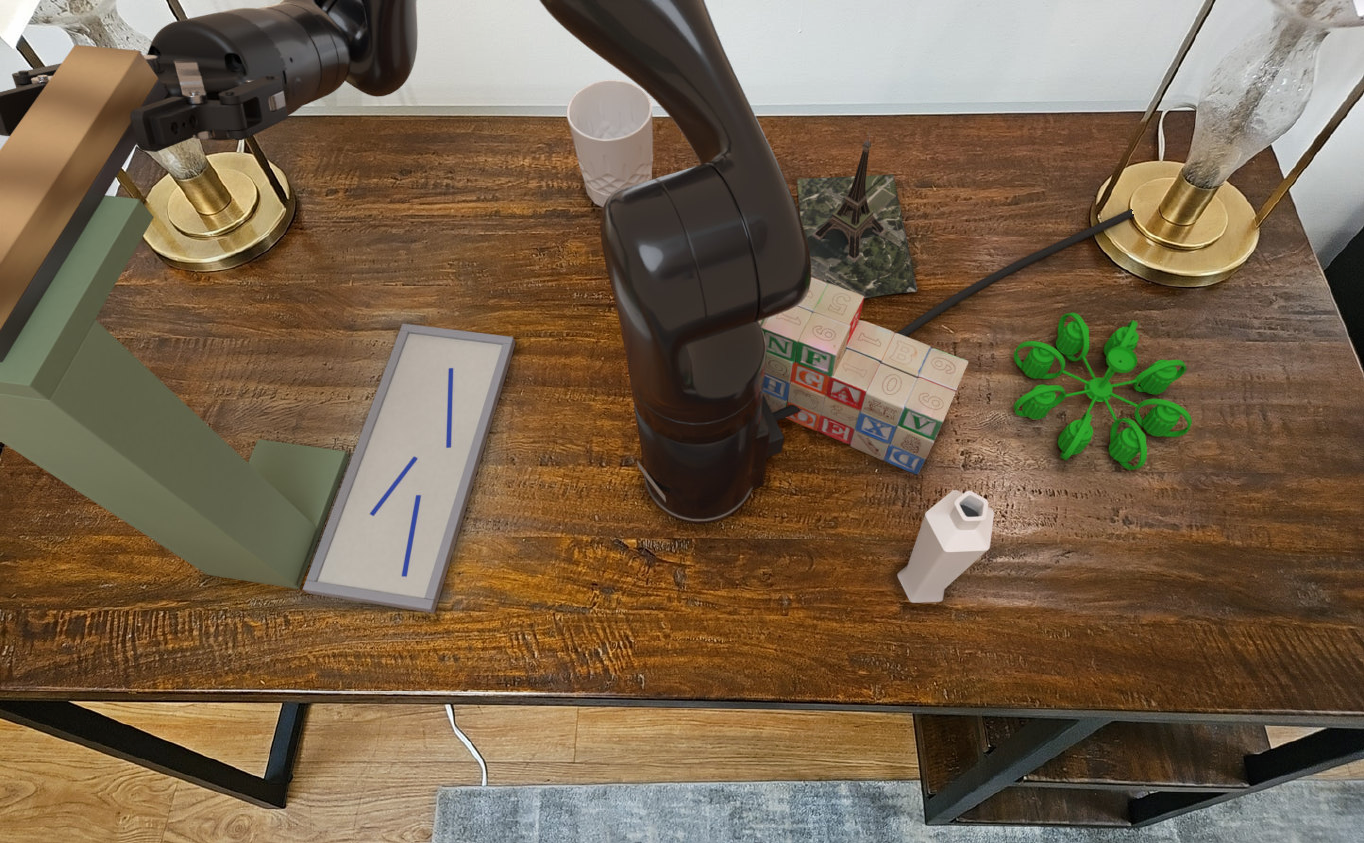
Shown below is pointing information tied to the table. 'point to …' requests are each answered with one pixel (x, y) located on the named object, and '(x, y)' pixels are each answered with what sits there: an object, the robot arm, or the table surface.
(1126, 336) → the chandelier
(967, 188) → the table surface
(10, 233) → the eraser
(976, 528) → the white faceted vase
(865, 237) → the eiffel tower figurine
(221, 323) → the table surface
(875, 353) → the stack of blocks
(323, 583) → the whiteboard
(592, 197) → the white cup
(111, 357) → the green bent block
